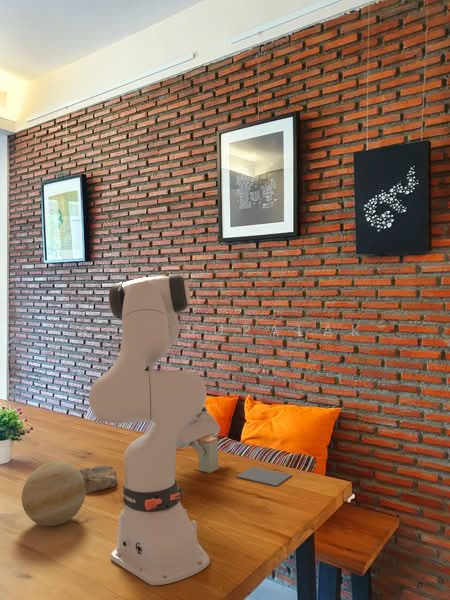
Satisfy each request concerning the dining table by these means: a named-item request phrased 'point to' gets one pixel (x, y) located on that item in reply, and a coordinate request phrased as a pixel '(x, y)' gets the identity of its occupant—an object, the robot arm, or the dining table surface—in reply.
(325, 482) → the dining table surface
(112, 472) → the grey rock
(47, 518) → the decorative ball
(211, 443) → the block
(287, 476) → the mat
